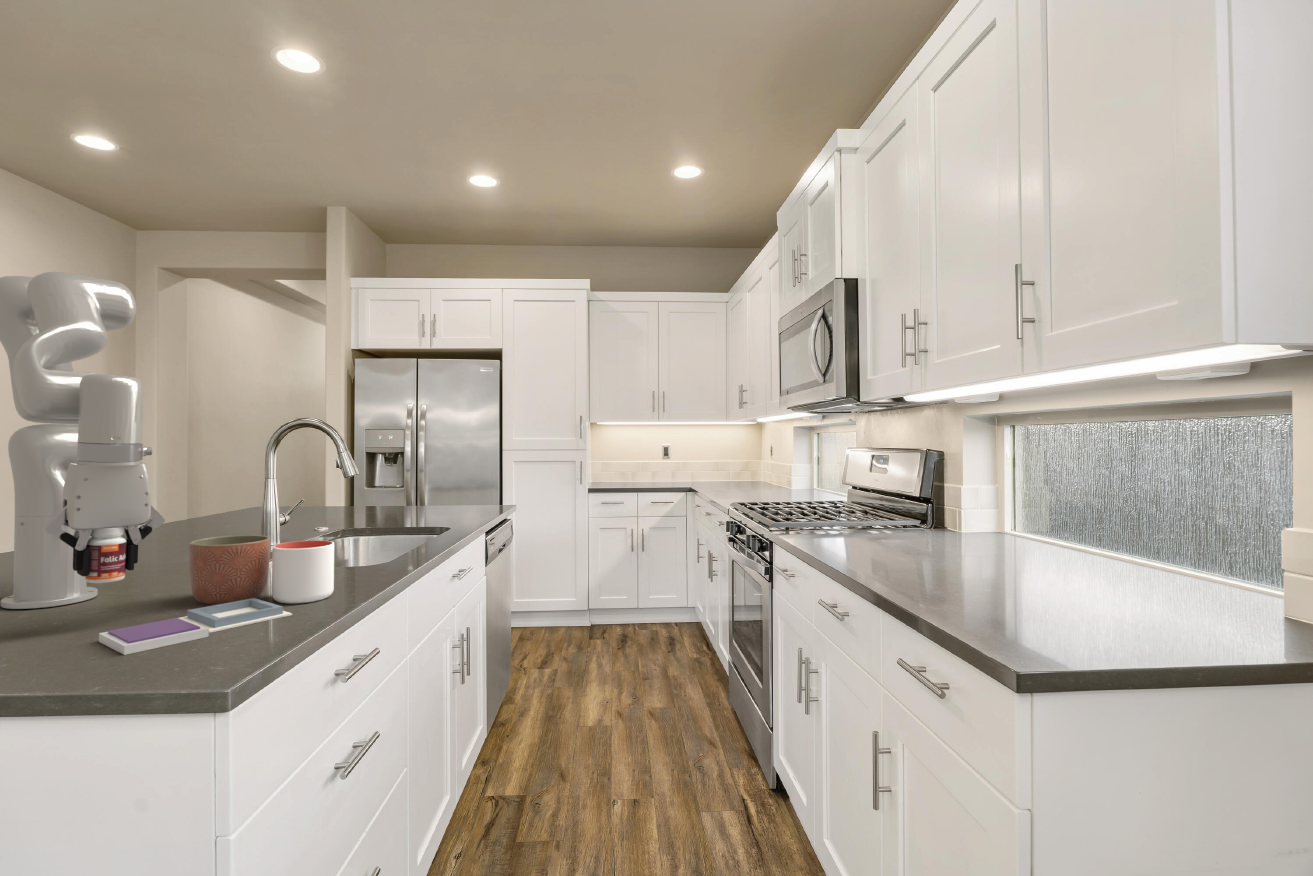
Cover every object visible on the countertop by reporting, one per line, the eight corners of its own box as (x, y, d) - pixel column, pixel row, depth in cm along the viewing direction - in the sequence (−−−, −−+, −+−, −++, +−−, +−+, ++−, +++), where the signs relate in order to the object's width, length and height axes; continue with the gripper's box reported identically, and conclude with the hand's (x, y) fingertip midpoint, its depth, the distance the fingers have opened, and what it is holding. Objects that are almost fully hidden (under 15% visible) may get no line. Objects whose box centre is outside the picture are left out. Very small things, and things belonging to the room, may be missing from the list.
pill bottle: (101, 585, 96) (103, 529, 96) (76, 581, 97) (78, 527, 97) (133, 577, 101) (135, 525, 101) (109, 574, 102) (110, 522, 102)
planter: (192, 612, 108) (193, 547, 108) (185, 598, 117) (185, 538, 117) (276, 600, 116) (276, 540, 116) (263, 588, 125) (263, 533, 125)
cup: (273, 595, 120) (274, 542, 120) (333, 590, 125) (334, 539, 125) (269, 607, 111) (270, 550, 111) (333, 601, 116) (334, 546, 116)
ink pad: (98, 641, 92) (99, 631, 92) (180, 625, 100) (180, 615, 100) (124, 655, 86) (124, 643, 86) (208, 636, 94) (208, 626, 94)
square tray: (177, 619, 103) (177, 610, 103) (257, 604, 113) (257, 596, 113) (210, 632, 96) (210, 622, 96) (292, 615, 106) (292, 606, 106)
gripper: (165, 452, 108) (161, 559, 108) (27, 453, 94) (23, 576, 94) (184, 455, 103) (180, 567, 104) (42, 457, 89) (38, 586, 90)
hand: (105, 570), depth 99 cm, fingers closed on pill bottle, 4 cm apart
